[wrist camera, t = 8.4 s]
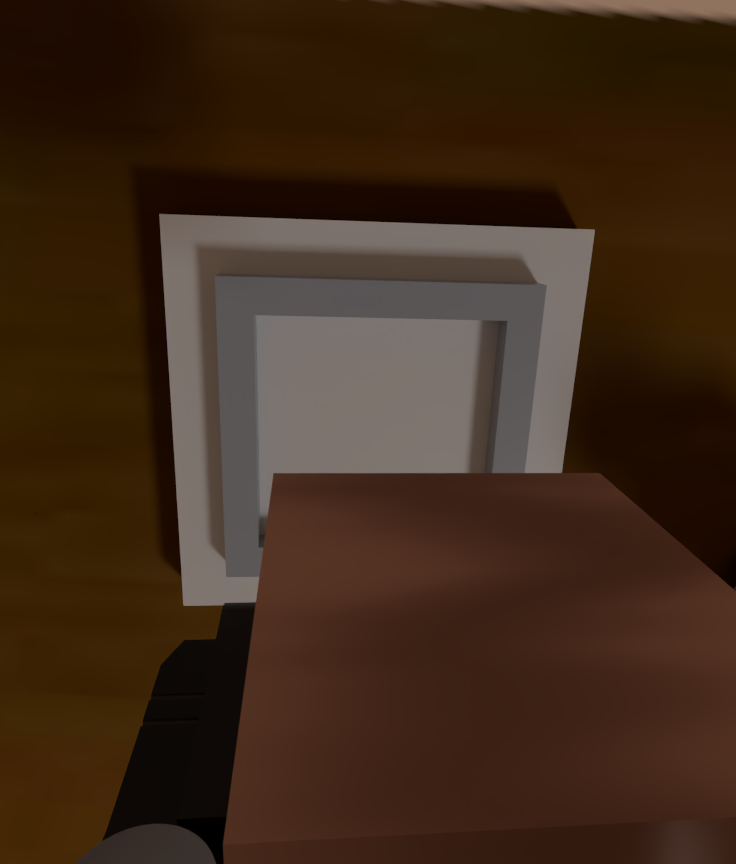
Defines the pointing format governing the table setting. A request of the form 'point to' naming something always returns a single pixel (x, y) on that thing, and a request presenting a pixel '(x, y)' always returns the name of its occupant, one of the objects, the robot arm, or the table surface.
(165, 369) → the table surface
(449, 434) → the socket plate
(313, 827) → the terracotta block
